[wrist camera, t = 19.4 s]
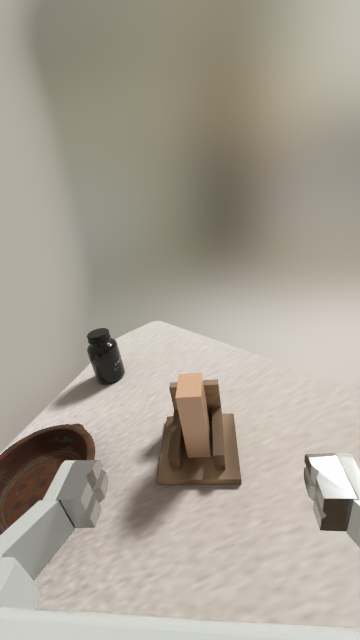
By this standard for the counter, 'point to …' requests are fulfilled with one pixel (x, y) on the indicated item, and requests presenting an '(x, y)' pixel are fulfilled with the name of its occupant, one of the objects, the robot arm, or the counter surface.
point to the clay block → (193, 415)
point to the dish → (37, 467)
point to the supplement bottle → (104, 356)
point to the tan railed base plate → (200, 469)
